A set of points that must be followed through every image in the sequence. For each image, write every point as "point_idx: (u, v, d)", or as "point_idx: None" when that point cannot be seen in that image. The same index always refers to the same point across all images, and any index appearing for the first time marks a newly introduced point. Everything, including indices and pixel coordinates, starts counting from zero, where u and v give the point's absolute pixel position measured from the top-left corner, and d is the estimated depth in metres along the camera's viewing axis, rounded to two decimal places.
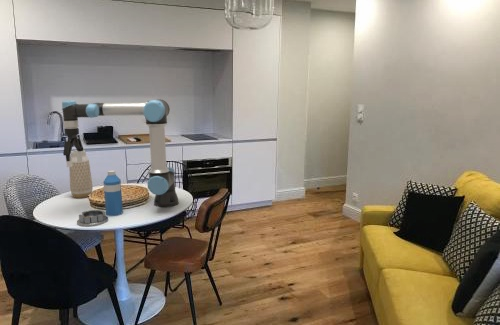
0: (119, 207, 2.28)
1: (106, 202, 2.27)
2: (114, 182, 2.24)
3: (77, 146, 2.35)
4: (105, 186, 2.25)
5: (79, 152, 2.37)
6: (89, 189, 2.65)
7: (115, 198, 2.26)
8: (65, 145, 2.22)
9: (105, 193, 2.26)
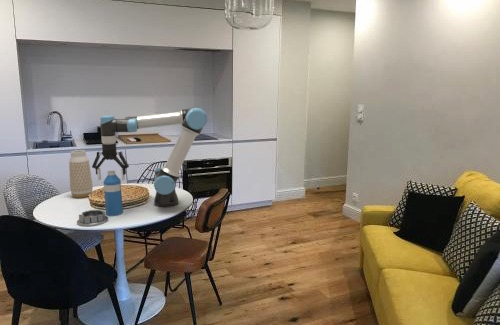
0: (119, 207, 2.28)
1: (106, 202, 2.27)
2: (114, 182, 2.24)
3: None
4: (105, 186, 2.25)
5: None
6: (89, 189, 2.65)
7: (115, 198, 2.26)
8: None
9: (105, 193, 2.26)
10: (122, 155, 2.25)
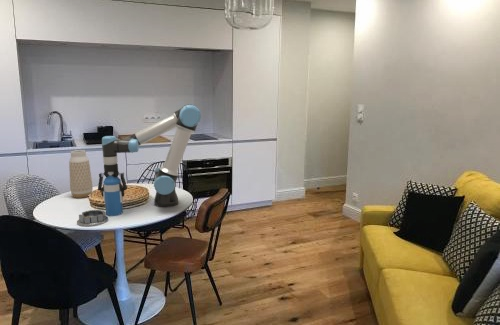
0: (119, 207, 2.28)
1: (106, 202, 2.27)
2: (114, 182, 2.24)
3: None
4: (105, 186, 2.25)
5: None
6: (89, 189, 2.65)
7: (115, 198, 2.26)
8: None
9: (105, 193, 2.26)
10: (123, 177, 2.28)
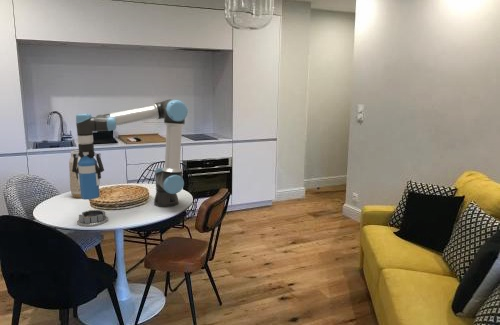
0: (95, 190, 2.12)
1: (81, 185, 2.11)
2: (89, 162, 2.08)
3: None
4: (80, 167, 2.09)
5: None
6: None
7: (90, 180, 2.09)
8: None
9: (80, 175, 2.10)
10: (99, 157, 2.11)
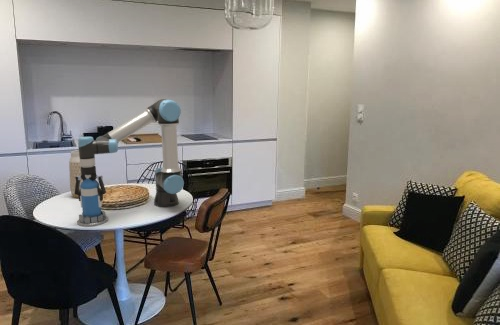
0: (97, 212, 2.15)
1: (83, 207, 2.13)
2: (91, 185, 2.10)
3: None
4: (82, 190, 2.11)
5: None
6: None
7: (93, 203, 2.12)
8: None
9: (82, 197, 2.12)
10: (101, 180, 2.14)
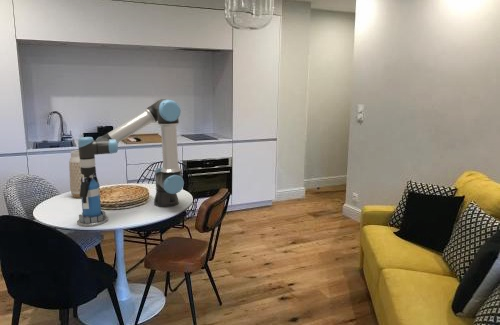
0: None
1: (95, 208, 2.13)
2: None
3: None
4: (94, 190, 2.11)
5: None
6: None
7: None
8: (81, 186, 2.06)
9: (93, 198, 2.12)
10: (93, 176, 2.20)
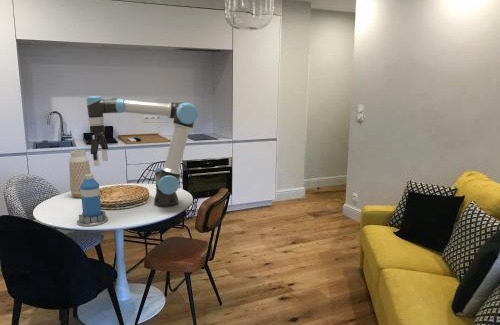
0: None
1: (95, 208, 2.13)
2: None
3: (102, 144, 2.23)
4: (94, 190, 2.11)
5: (104, 150, 2.25)
6: None
7: None
8: (92, 143, 2.10)
9: (93, 198, 2.12)
10: None
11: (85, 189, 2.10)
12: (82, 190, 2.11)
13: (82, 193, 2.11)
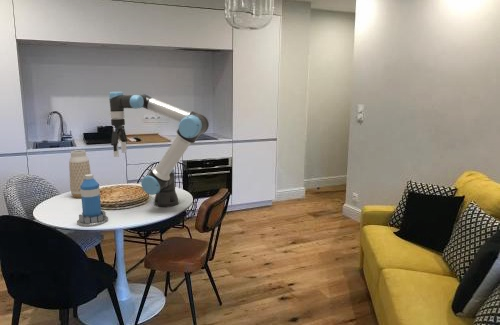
0: None
1: (95, 208, 2.13)
2: None
3: (122, 137, 2.39)
4: (94, 190, 2.11)
5: (123, 143, 2.41)
6: None
7: None
8: (113, 135, 2.26)
9: (93, 198, 2.12)
10: None
11: (85, 189, 2.10)
12: (82, 190, 2.11)
13: (82, 193, 2.11)
